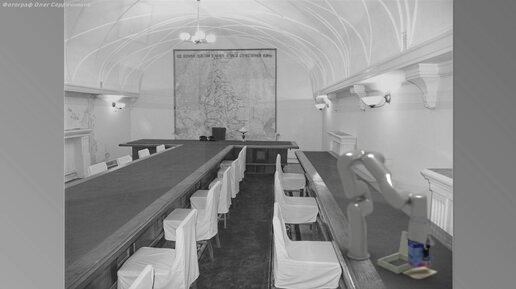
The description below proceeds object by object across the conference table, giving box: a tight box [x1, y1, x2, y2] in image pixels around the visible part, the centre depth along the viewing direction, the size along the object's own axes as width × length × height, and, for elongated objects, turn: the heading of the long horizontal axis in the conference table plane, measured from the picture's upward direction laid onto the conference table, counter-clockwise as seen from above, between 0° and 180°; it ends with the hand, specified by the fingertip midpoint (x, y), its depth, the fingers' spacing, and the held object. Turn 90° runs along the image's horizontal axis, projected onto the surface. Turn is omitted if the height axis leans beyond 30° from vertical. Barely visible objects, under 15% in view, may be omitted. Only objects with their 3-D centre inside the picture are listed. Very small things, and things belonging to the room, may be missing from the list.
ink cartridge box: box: [407, 241, 432, 269], centre depth 176 cm, size 10×6×14 cm, turn 100°
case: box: [377, 230, 413, 274], centre depth 187 cm, size 13×21×15 cm, turn 119°
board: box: [402, 267, 437, 281], centre depth 177 cm, size 9×14×1 cm, turn 119°
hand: (419, 253), depth 176 cm, fingers closed on ink cartridge box, 6 cm apart
